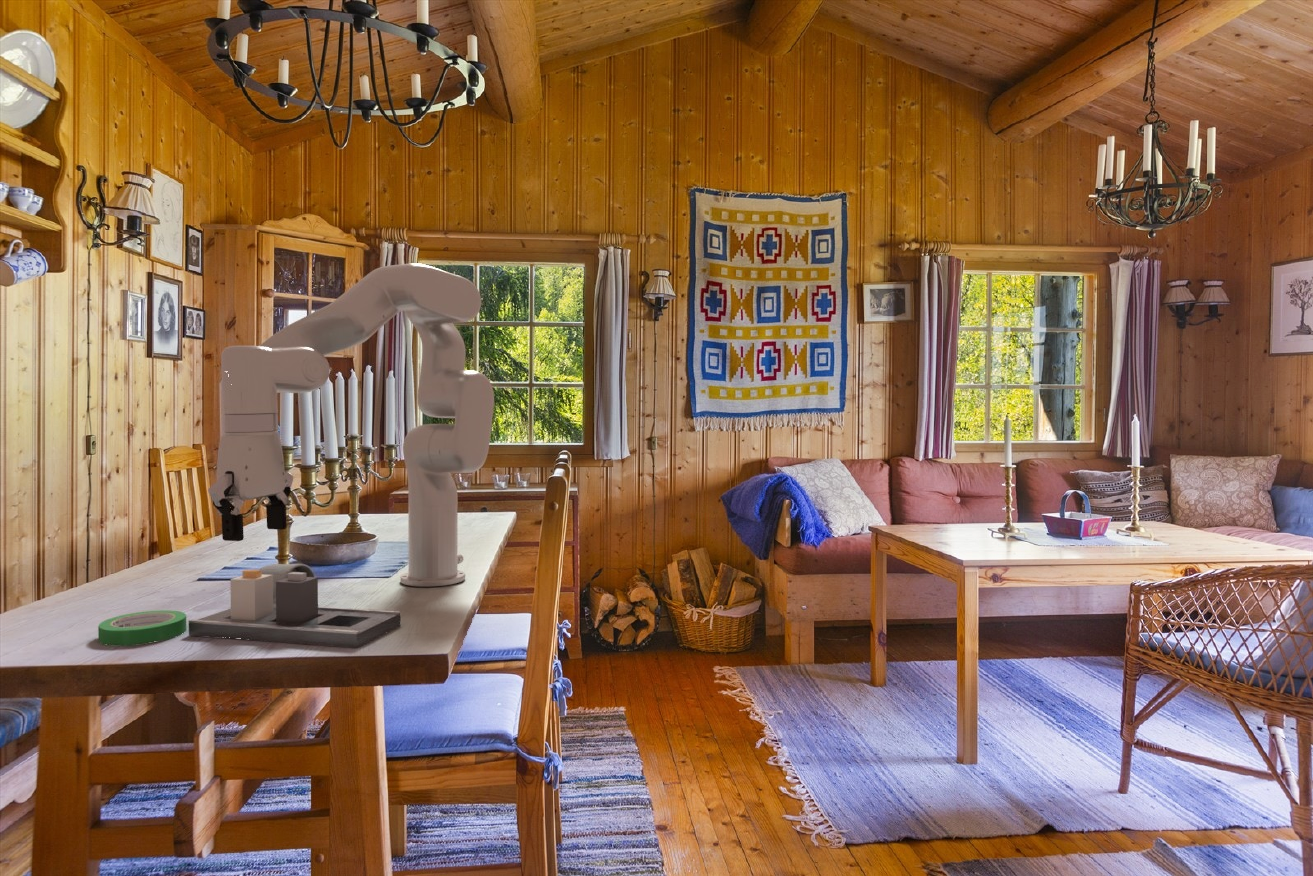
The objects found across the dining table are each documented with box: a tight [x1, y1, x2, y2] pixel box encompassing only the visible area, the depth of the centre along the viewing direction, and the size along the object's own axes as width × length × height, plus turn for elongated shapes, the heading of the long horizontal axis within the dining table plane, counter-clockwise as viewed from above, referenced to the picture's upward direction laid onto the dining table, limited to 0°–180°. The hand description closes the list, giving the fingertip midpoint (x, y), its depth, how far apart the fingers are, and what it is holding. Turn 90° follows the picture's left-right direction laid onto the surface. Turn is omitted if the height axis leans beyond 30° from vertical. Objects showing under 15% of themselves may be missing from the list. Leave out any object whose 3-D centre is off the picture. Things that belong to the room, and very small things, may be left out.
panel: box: [188, 604, 401, 649], centre depth 120 cm, size 12×28×2 cm, turn 79°
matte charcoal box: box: [276, 572, 319, 624], centre depth 120 cm, size 4×4×9 cm
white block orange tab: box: [230, 569, 273, 621], centre depth 121 cm, size 4×4×9 cm
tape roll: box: [97, 609, 187, 647], centre depth 117 cm, size 11×11×3 cm
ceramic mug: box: [258, 563, 316, 604], centre depth 133 cm, size 11×8×8 cm
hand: (255, 534), depth 122 cm, fingers open, 9 cm apart
